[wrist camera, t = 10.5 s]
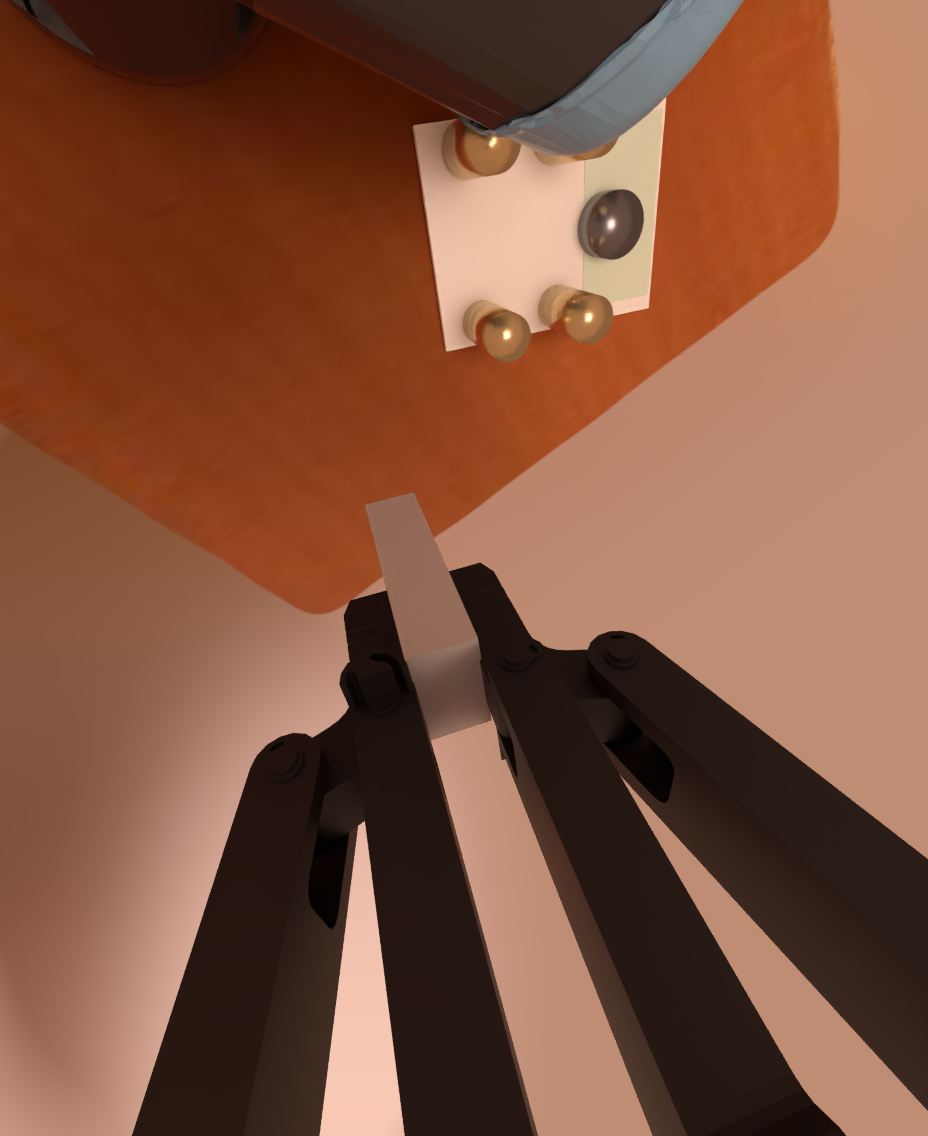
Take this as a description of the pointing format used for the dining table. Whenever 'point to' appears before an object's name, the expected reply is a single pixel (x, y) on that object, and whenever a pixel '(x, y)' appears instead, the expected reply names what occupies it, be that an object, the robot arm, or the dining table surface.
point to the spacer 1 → (476, 152)
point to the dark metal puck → (611, 224)
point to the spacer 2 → (497, 330)
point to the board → (534, 227)
